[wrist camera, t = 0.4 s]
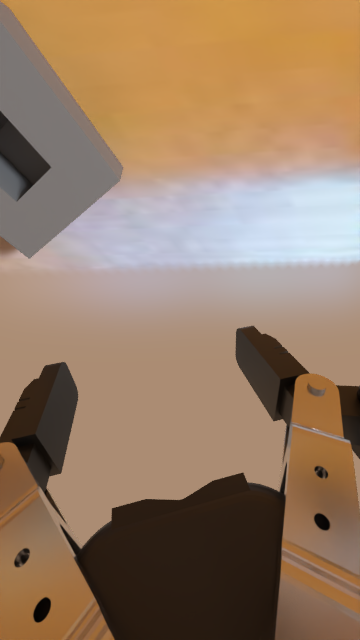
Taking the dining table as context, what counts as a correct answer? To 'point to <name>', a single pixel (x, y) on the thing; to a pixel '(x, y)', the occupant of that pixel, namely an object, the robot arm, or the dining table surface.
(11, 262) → the dining table surface
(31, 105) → the hole block
